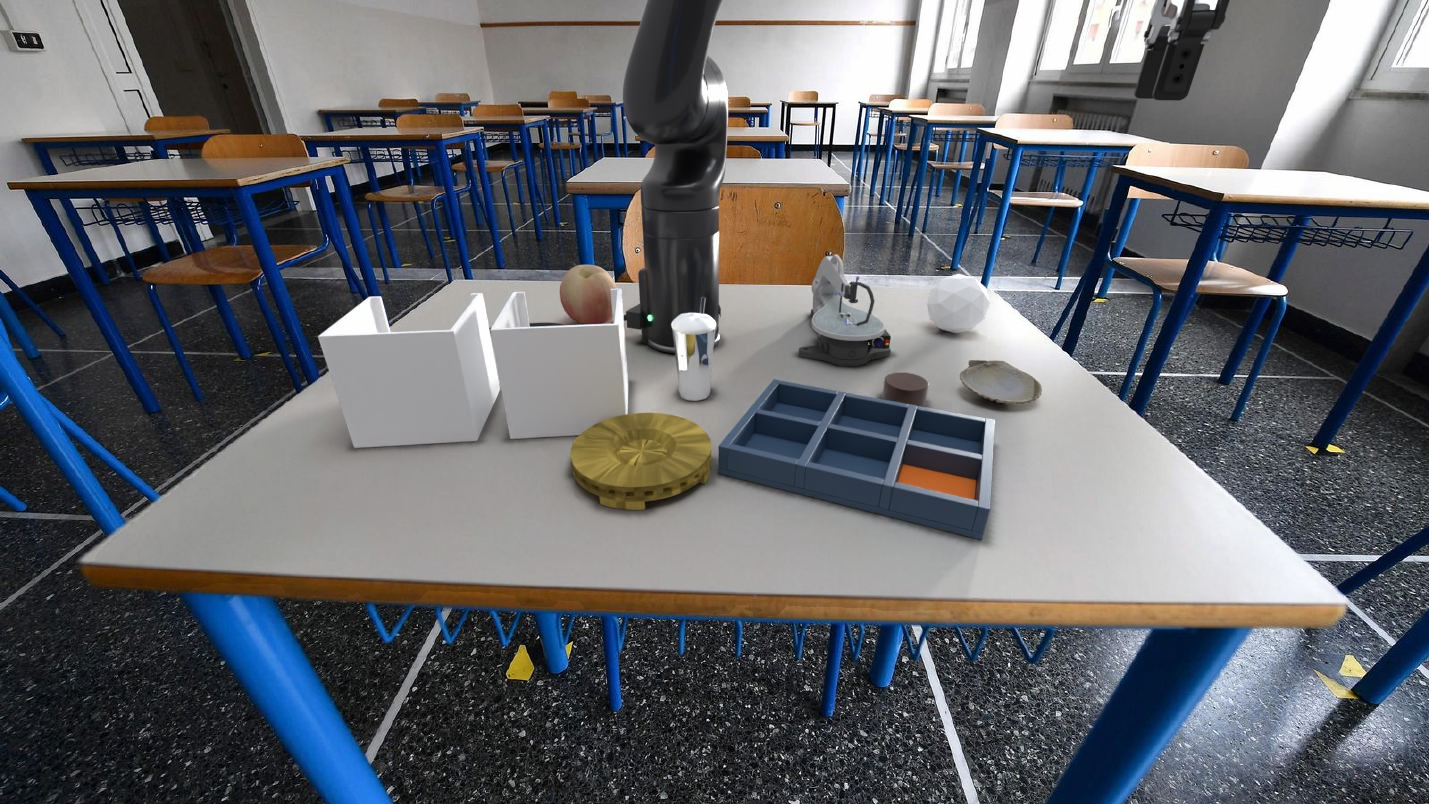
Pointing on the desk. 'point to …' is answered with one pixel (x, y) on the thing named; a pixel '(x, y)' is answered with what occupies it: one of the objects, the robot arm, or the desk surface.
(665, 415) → the gold notched disc
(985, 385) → the seashell
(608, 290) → the fruit
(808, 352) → the scroll saw
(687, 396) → the milkshake
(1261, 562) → the desk surface
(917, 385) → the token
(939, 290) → the geometric ball
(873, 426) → the grid
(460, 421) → the white open box
